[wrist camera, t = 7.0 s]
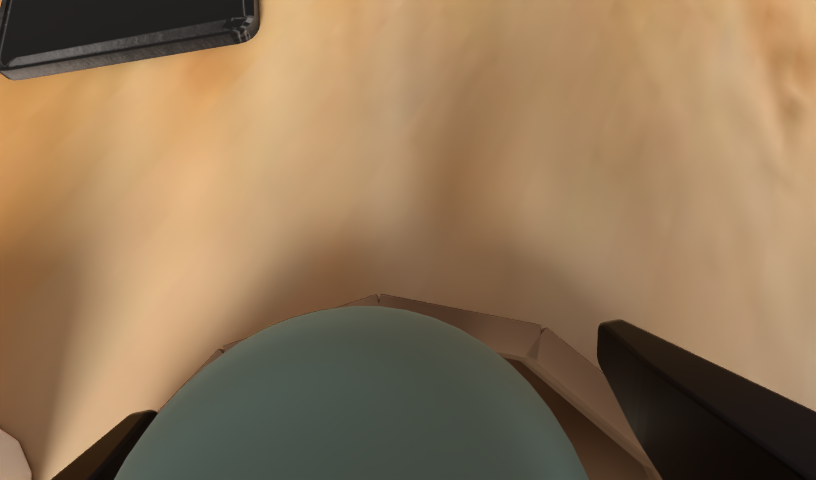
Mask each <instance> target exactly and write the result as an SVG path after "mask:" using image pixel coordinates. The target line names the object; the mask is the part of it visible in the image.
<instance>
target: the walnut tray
mask: <svg viewBox="0 0 816 480" xmlns="http://www.w3.org/2000/svg"><path fill="white" fill-rule="evenodd" d="M349 306H381V307H388V308H395V309H402V310H408V311H411V312H415V313H419V314H422V315H426V316H429V317H433V318H435V319H438V320H440V321H442V322H445V323H447V324H449V325H452V326H454V327H456V328H459V329H461V330H462V331H464V332H466V333H467V334H469V335H471V336H472V337H474V338H476V339H478V340H479V341H481V342H483V343H484V344H486V345H487V346H488V347H489V348H491V349H492V350H493V351H495V352H496V353H497V354H499V355H500V356H501V357H502V358H504V359H505V360H506V361H508V362H509V363H510V364H511V365H512V366H513V367H514V368H515V369H516V370H517V371H518V372H519V373H520V374H521V375H522V376H523V377H524V378H525V379H526V380H527V381H528V382H529V383H530V384H531V386H532V387H533V388H534V389H535V391H536V392H537V393H538V394H539V396H540V397H541V398H542V399H543V401H544V402H545V403H546V404H547V406H548V407H549V408H550V409H551V411H552V413H553V414H554V416H555V417H556V419H557V421H558V422H559V424H560V426H561V427H562V429H563V430H564V432H565V434H566V435H567V437H568V438H569V440H570V442H571V443H572V445H573V447H574V449H575V451H576V453H577V455H578V457H579V460H580V462H581V464H582V466H583V468H584V470H585V472H586V474H587V476H588V478H589V480H662V478H661V477H660V475H659V474H658V472H657V470H656V469H655V467H654V466H653V464H652V463H651V461H650V459H649V458H648V456H647V455H646V453H645V451H644V450H643V448H642V447H641V445H640V443H639V442H638V440H637V438H636V437H635V435H634V433H633V431H632V429H631V427H630V425H629V423H628V421H627V419H626V417H625V415H624V413H623V411H622V409H621V407H620V405H619V403H618V401H617V399H616V397H615V395H614V393H613V391H612V389H611V387H610V385H609V383H608V381H607V379H606V377H605V375H604V373H603V372H601V371H600V370H599V369H598V368H596V367H595V366H594V365H593V364H591V363H590V362H589V361H588V360H586V359H585V358H584V357H583V356H581V355H580V354H579V353H578V352H576V351H575V350H574V349H573V348H572V347H570V346H569V345H568V344H567V343H565V342H564V341H563V340H562V339H560V338H559V337H558V336H557V335H555V334H554V333H553V332H552V331H550V330H549V329H548V328H544V329H542V330H541V325H539V324H534V323H529V322H523V321H518V320H513V319H508V318H503V317H498V316H493V315H487V314H482V313H477V312H472V311H467V310H462V309H457V308H451V307H446V306H441V305H436V304H431V303H426V302H420V301H415V300H410V299H405V298H400V297H395V296H390V295H384V294H381V297H380V299H379V298H378V297H377V295H376V294H375V295H372V296H369V297H366V298H363V299H360V300H357V301H354V302H352V303H349V304H346V305H343V306H340V307H337V308H341V307H349ZM245 339H247V338H245ZM245 339H243V340H245ZM243 340H240V341H237V342H234V343H231V344H228V345H225V346H223V347H224V350H222V349H218V350H217V351H216V352H215V353H214V354H213V355H212V356H211V357H210V358H209V359H208V360H207V361H206V362H205V364H204V365H203V366H202V367H201V368H200V369H199V370H198V371H197V372H196V373H195V374H194V375H193V376H192V377H191V378H190V379H189V380H188V381H187V382H189V381H190V380H191V379H192V378H193V377H194V376H195V375H196V374H197V373H199V372H200V371H201V370H202V369H203V368H204V367H205V366H207V365H208V364H210V363H211V362H213V361H214V360H215V359H217V358H218V357H220V356H221V355H222V354H224V353H225V352H227V351H228V350H229V349H231V348H232V347H234V346H235V345H236V344H238V343H239V342H241V341H243ZM187 382H186V383H187ZM186 383H185V384H186ZM185 384H184V385H185ZM184 385H183V386H184ZM183 386H182V387H183ZM182 387H181V388H182ZM181 388H180V389H181ZM180 389H179V390H180ZM179 390H178V391H179ZM178 391H177V392H178ZM177 392H176V393H177ZM176 393H175V394H176ZM175 394H174V395H175ZM174 395H173V396H172V397H171V398H170V399H169V400H168V402H169V401H170V400H171V399H172V398H173V397H174ZM168 402H167V403H168ZM167 403H166V404H167ZM166 404H165V405H164V406H163V407H162V408H161V409H160V410H159V411H158V412H157V413H159V412H160V411H161V410H162V409H163V408H164V407H165V406H166Z"/></svg>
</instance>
